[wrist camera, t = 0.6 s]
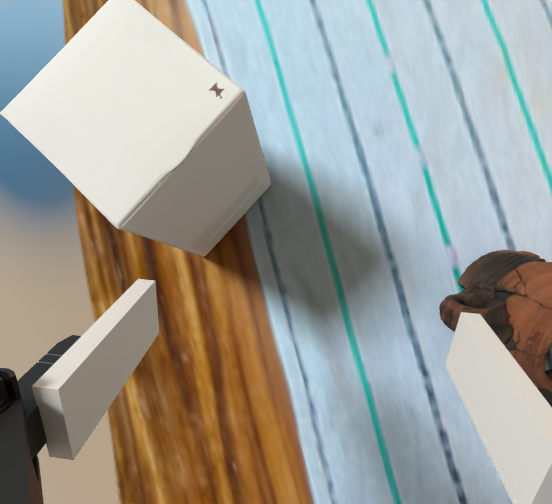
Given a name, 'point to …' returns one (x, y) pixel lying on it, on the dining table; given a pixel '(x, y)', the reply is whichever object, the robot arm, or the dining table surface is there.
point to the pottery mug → (510, 306)
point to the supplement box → (146, 130)
